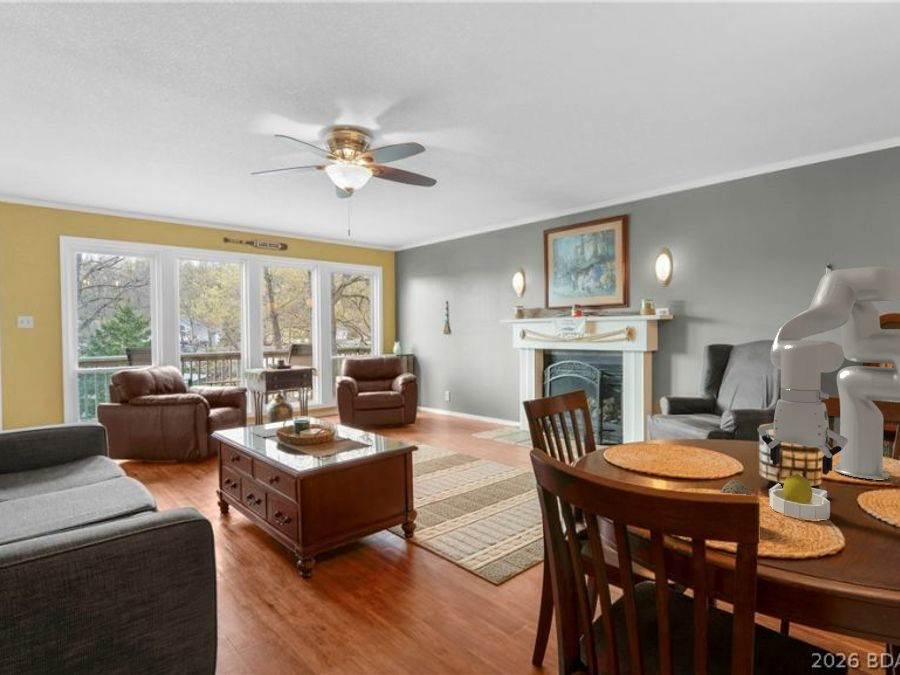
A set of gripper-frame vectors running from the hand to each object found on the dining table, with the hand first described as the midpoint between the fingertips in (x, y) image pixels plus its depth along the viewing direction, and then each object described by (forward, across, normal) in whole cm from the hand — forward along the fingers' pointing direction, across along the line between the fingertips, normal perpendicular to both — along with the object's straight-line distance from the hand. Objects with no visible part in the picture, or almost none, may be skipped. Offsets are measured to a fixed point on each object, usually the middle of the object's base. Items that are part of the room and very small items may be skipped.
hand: (800, 468), depth 111 cm
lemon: (+10, 0, +1) cm, 10 cm away
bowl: (+10, 0, +1) cm, 10 cm away
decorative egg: (+10, +7, +20) cm, 23 cm away
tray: (+10, +3, -11) cm, 16 cm away
